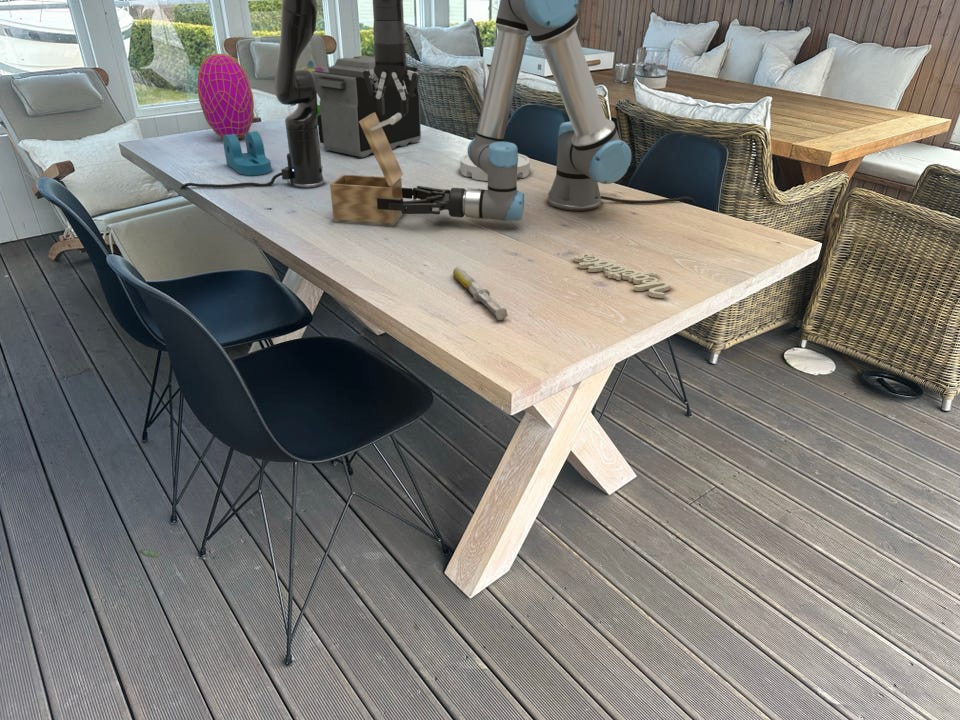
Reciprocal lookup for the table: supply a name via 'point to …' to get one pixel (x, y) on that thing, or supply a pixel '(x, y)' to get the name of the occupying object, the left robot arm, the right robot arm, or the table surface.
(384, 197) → the chest
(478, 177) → the ashtray
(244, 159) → the camera mount
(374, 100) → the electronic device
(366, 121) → the lid
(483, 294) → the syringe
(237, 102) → the decorative egg
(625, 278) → the decorative sign
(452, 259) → the table surface
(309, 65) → the potted flower
